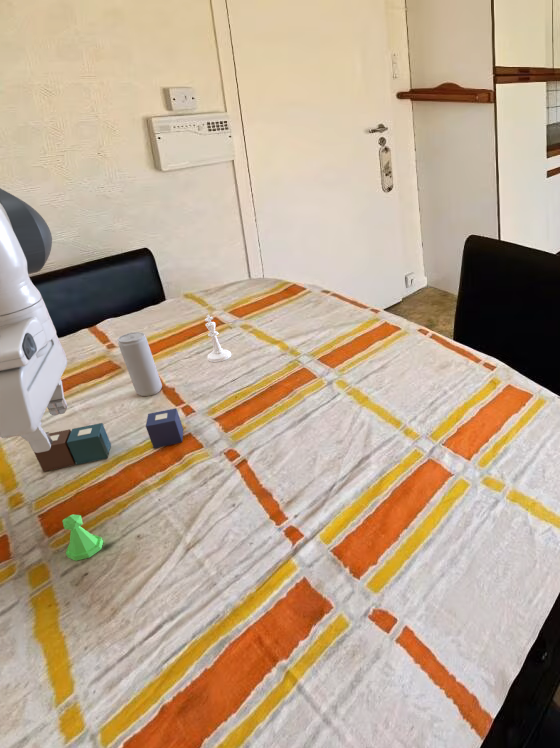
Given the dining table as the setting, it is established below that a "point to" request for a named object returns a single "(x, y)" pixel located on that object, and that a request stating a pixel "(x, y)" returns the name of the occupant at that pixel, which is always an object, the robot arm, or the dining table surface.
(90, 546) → the game piece
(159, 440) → the letter blocks
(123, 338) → the beverage can
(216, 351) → the chess piece
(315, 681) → the dining table surface
